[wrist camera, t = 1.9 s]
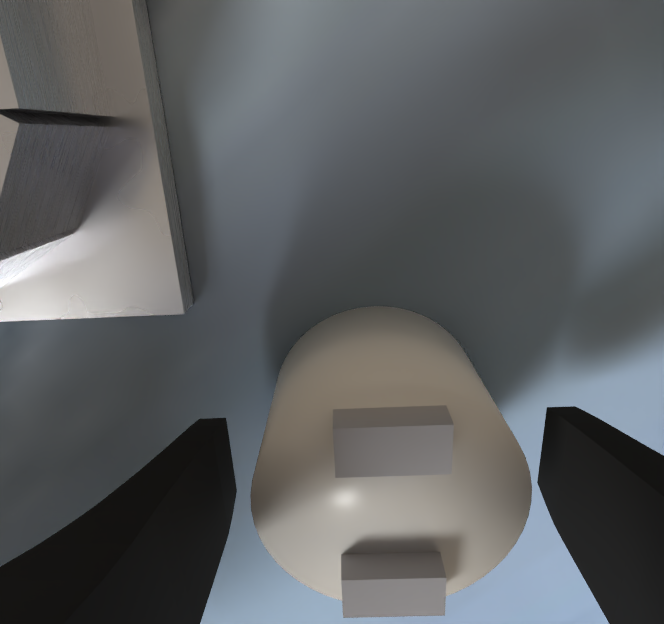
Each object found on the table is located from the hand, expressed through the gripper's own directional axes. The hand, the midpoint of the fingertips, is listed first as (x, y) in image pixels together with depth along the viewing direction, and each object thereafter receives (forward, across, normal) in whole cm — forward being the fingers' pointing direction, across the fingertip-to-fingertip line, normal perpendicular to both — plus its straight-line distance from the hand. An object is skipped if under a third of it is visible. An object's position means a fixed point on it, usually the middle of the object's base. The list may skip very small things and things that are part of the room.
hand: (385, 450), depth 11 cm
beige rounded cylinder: (+2, 0, 0) cm, 2 cm away
